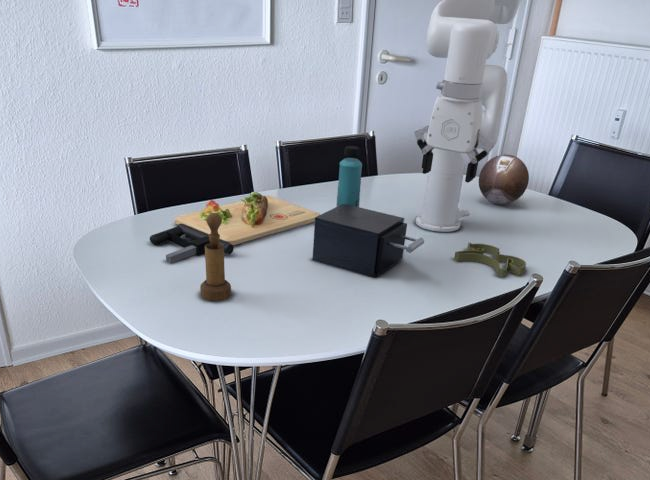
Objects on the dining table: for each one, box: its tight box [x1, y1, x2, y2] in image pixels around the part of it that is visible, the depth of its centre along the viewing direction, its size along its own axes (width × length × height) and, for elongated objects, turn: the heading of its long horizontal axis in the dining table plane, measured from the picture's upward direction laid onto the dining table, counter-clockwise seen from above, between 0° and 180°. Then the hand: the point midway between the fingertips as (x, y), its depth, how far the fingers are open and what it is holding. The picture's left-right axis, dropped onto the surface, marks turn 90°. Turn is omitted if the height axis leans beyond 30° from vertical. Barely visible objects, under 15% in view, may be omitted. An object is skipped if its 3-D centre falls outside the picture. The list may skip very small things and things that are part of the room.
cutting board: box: [174, 191, 321, 246], centre depth 178 cm, size 35×23×8 cm
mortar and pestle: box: [199, 213, 232, 302], centre depth 135 cm, size 7×6×18 cm
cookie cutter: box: [453, 242, 527, 278], centre depth 162 cm, size 18×12×2 cm, turn 43°
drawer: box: [375, 222, 425, 275], centre depth 155 cm, size 22×13×9 cm, turn 58°
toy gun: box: [149, 223, 235, 264], centre depth 160 cm, size 3×20×16 cm
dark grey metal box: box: [312, 204, 405, 278], centre depth 158 cm, size 17×14×11 cm
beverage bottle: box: [336, 145, 363, 207], centre depth 182 cm, size 6×7×20 cm
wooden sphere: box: [478, 154, 530, 205], centre depth 203 cm, size 15×15×15 cm
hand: (447, 176), depth 139 cm, fingers open, 9 cm apart
